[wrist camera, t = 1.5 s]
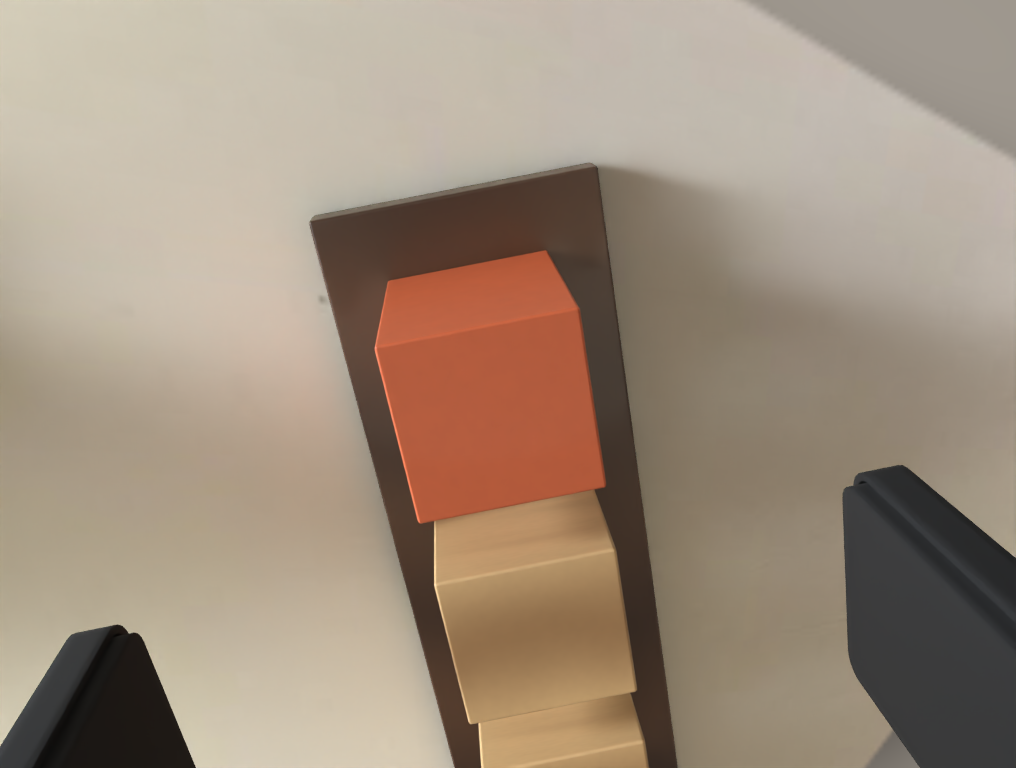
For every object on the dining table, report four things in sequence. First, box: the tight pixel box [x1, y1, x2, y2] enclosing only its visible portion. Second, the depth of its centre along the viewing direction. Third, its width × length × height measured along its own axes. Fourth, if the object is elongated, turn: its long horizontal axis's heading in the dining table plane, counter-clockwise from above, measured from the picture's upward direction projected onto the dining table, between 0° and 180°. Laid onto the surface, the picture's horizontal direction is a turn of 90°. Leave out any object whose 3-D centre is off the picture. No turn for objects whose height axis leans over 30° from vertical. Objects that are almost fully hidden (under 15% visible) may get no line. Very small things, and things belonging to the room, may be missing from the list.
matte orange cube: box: [375, 250, 606, 524], centre depth 19 cm, size 4×4×5 cm
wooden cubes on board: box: [309, 163, 678, 768], centre depth 23 cm, size 24×7×6 cm, turn 10°
